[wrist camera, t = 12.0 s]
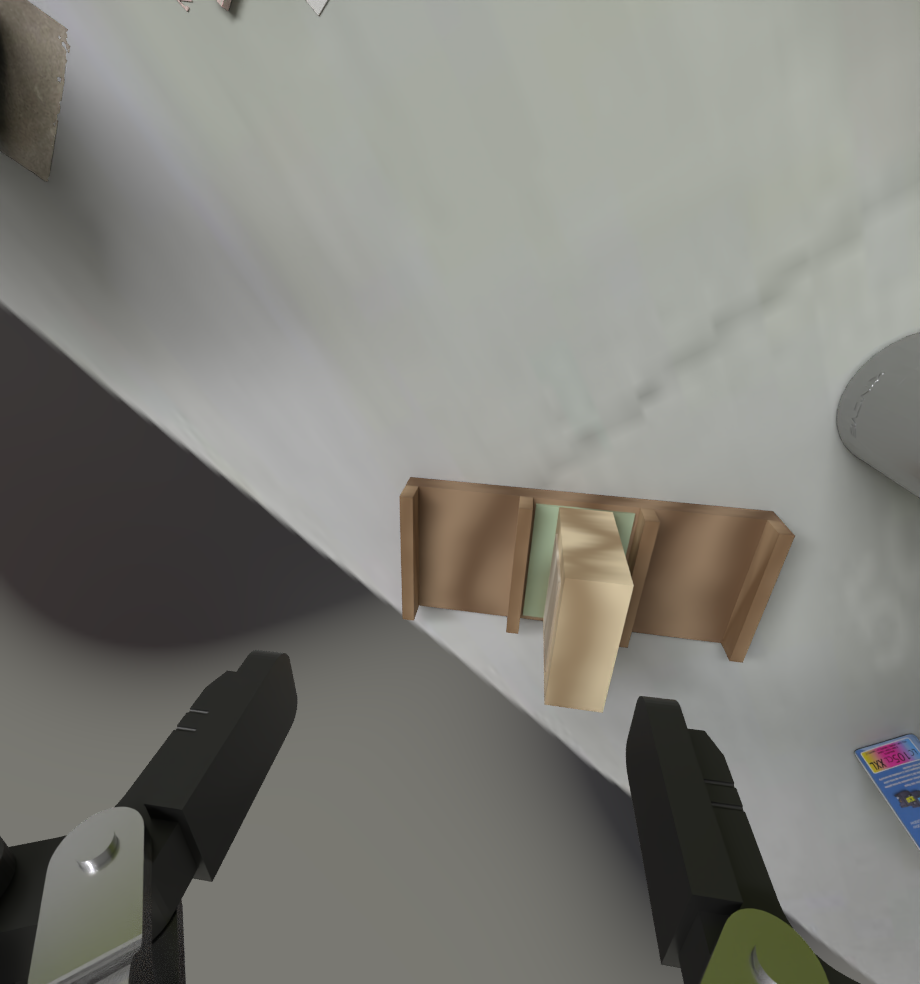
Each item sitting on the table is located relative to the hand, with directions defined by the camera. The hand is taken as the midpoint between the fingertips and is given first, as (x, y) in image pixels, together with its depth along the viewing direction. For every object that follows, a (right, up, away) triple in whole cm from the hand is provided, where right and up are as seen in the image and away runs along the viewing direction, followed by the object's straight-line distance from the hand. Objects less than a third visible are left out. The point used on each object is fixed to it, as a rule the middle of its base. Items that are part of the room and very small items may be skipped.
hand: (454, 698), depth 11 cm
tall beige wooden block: (+10, -1, +28) cm, 30 cm away
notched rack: (+10, -1, +30) cm, 31 cm away
